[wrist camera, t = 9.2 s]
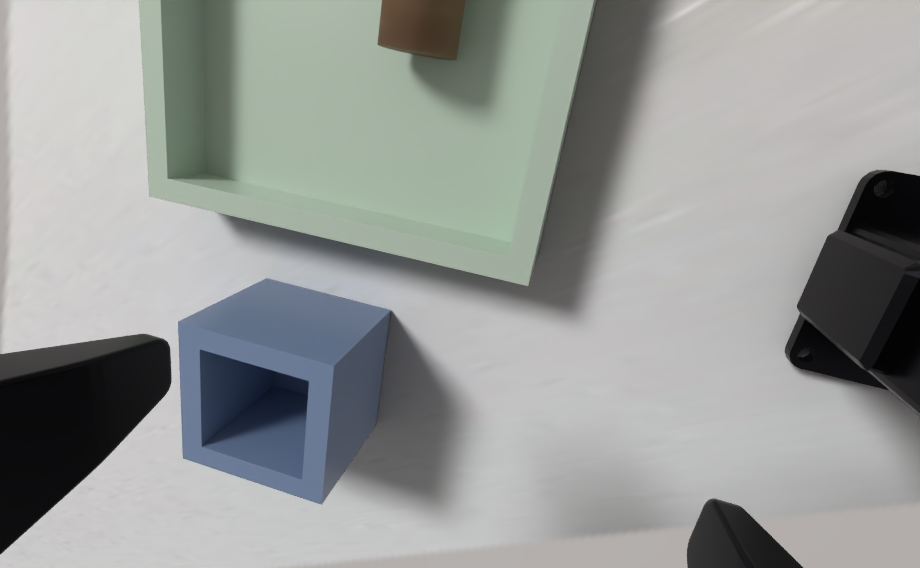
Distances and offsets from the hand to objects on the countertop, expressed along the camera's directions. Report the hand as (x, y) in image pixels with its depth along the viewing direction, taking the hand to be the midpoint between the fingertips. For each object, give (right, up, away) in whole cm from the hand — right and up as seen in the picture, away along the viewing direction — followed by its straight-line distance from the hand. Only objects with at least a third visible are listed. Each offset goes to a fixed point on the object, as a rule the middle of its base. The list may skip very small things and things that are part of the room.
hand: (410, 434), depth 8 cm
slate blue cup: (-5, -1, +13) cm, 14 cm away
